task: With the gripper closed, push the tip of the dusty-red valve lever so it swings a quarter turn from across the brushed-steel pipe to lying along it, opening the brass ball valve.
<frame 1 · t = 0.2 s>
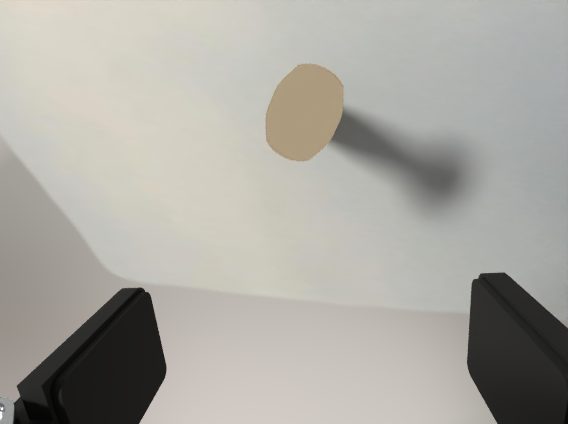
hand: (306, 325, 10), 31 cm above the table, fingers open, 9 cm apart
handle: (309, 111, 38), on the table
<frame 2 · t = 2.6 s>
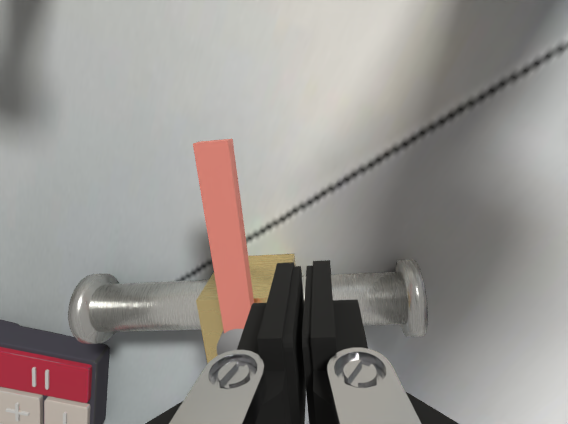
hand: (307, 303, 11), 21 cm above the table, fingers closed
lever: (231, 263, 24), point 9 cm above the table, hinge at 0.0°
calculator: (49, 366, 41), on the table
valve: (261, 285, 35), on the table
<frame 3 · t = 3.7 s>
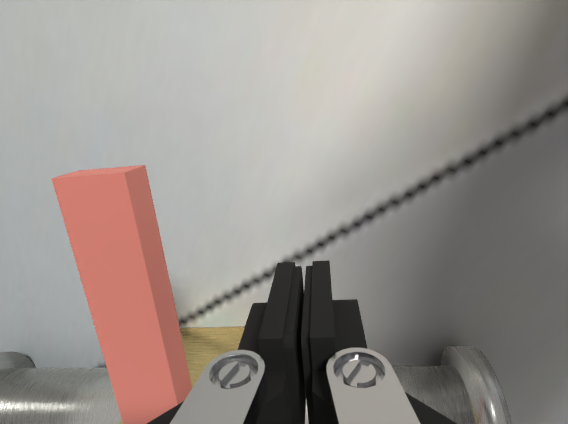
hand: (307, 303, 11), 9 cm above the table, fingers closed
lever: (157, 399, 13), point 9 cm above the table, hinge at 0.0°
valve: (238, 368, 23), on the table
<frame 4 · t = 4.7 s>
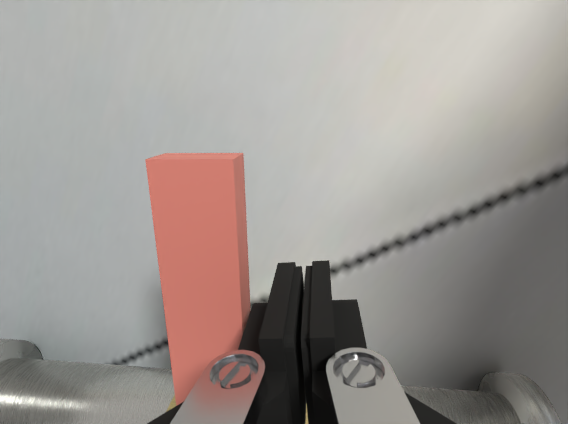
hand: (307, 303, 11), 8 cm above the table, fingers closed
lever: (218, 413, 12), point 9 cm above the table, hinge at 1.2°, touching gripper
valve: (264, 376, 22), on the table
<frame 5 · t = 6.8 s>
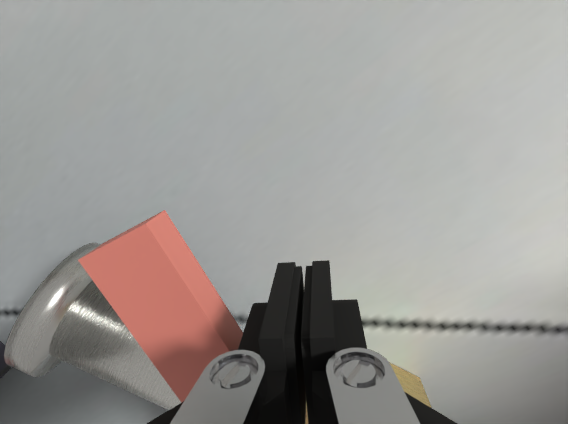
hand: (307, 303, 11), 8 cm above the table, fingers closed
valve: (340, 390, 21), on the table
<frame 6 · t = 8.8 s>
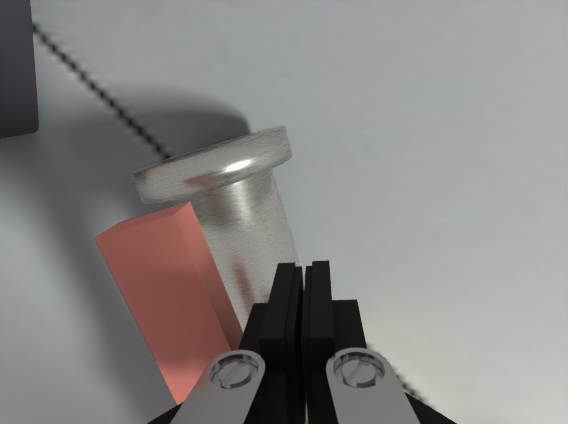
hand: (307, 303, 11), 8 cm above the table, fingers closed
valve: (309, 393, 22), on the table
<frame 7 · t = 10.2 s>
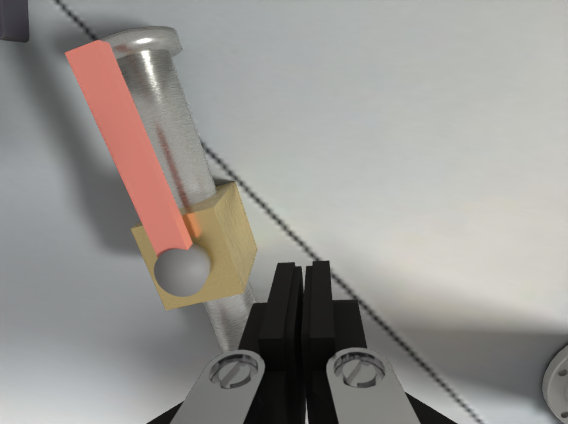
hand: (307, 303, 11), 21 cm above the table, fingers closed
lever: (145, 181, 23), point 9 cm above the table, hinge at 91.8°
valve: (214, 224, 34), on the table
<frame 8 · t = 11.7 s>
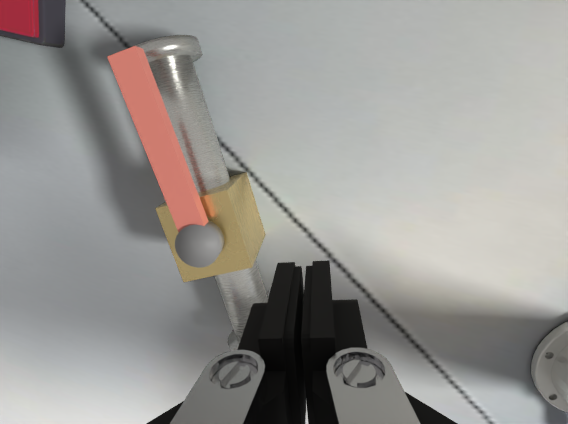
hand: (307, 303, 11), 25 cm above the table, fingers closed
lever: (169, 165, 27), point 9 cm above the table, hinge at 91.8°
valve: (227, 211, 37), on the table
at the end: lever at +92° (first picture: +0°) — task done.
